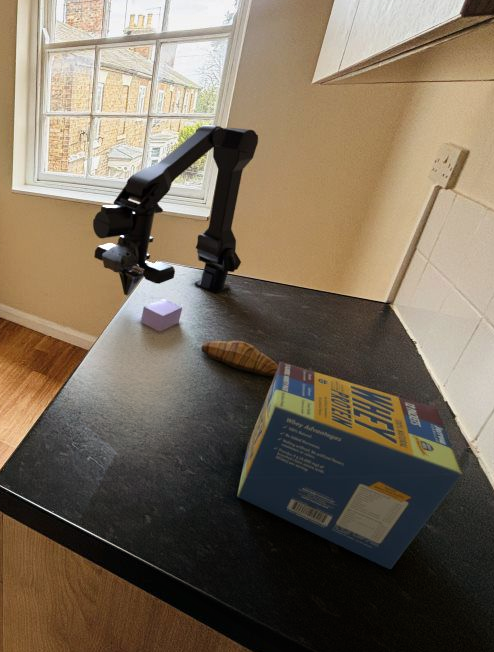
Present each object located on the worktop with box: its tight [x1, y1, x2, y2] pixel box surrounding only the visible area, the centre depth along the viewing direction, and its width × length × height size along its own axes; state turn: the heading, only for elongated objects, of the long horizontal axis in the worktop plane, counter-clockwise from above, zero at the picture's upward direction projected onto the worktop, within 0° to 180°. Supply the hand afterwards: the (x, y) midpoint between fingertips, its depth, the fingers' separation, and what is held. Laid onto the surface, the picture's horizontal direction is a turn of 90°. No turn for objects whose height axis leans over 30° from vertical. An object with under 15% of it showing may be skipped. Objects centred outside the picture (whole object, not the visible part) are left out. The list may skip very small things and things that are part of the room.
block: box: [140, 298, 183, 333], centre depth 90 cm, size 7×5×4 cm
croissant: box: [200, 340, 279, 378], centre depth 76 cm, size 14×7×5 cm, turn 52°
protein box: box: [236, 361, 464, 570], centre depth 48 cm, size 10×15×16 cm
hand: (126, 294), depth 97 cm, fingers closed
